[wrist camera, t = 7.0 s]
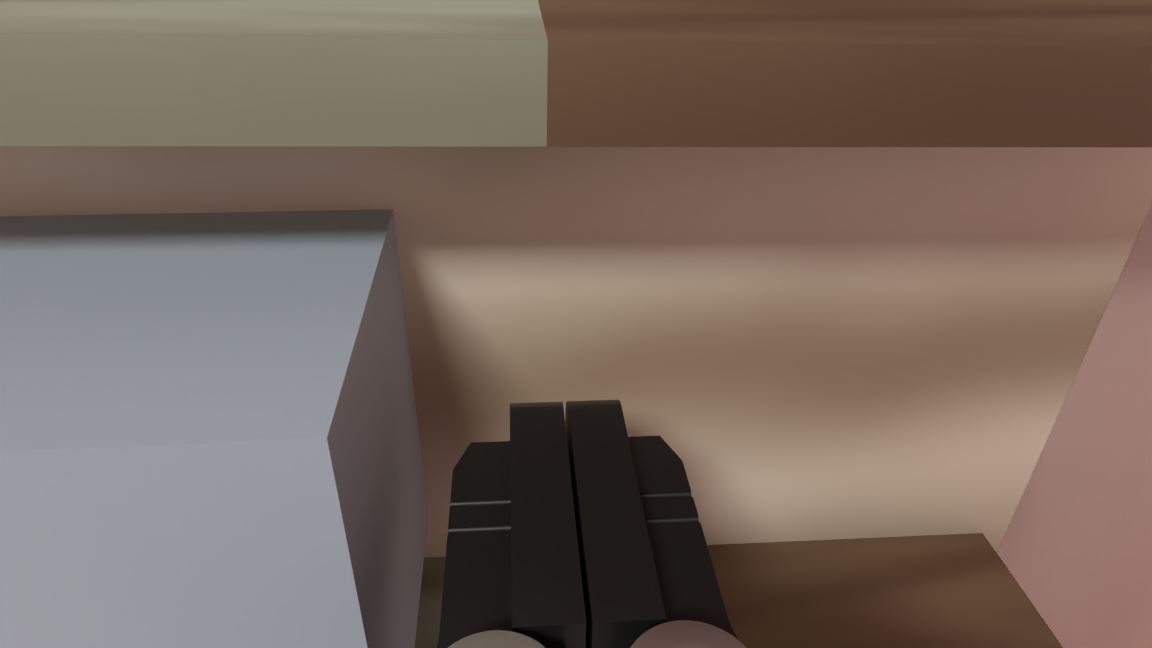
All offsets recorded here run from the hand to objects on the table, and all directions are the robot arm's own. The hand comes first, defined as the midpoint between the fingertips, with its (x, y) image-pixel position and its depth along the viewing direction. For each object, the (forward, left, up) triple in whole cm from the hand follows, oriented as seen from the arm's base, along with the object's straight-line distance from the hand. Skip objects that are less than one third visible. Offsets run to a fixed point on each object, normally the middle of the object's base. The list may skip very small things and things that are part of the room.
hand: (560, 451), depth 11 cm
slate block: (0, -5, -2) cm, 6 cm away
